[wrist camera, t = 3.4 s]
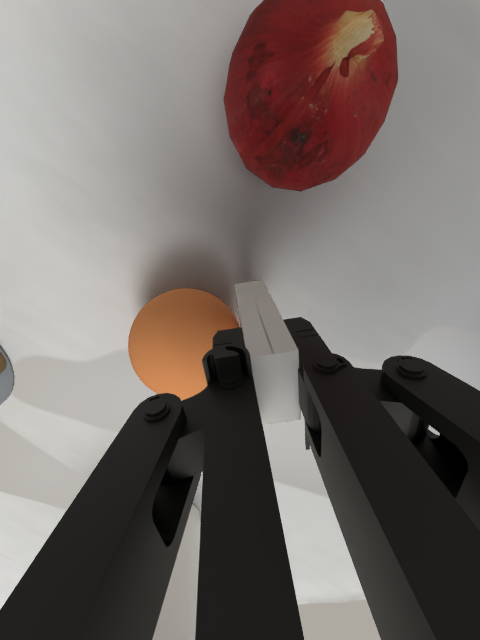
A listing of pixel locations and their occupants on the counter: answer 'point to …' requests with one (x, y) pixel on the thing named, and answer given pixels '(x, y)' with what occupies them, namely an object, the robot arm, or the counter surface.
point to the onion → (310, 88)
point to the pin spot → (6, 379)
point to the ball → (177, 339)
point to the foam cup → (182, 587)
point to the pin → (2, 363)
